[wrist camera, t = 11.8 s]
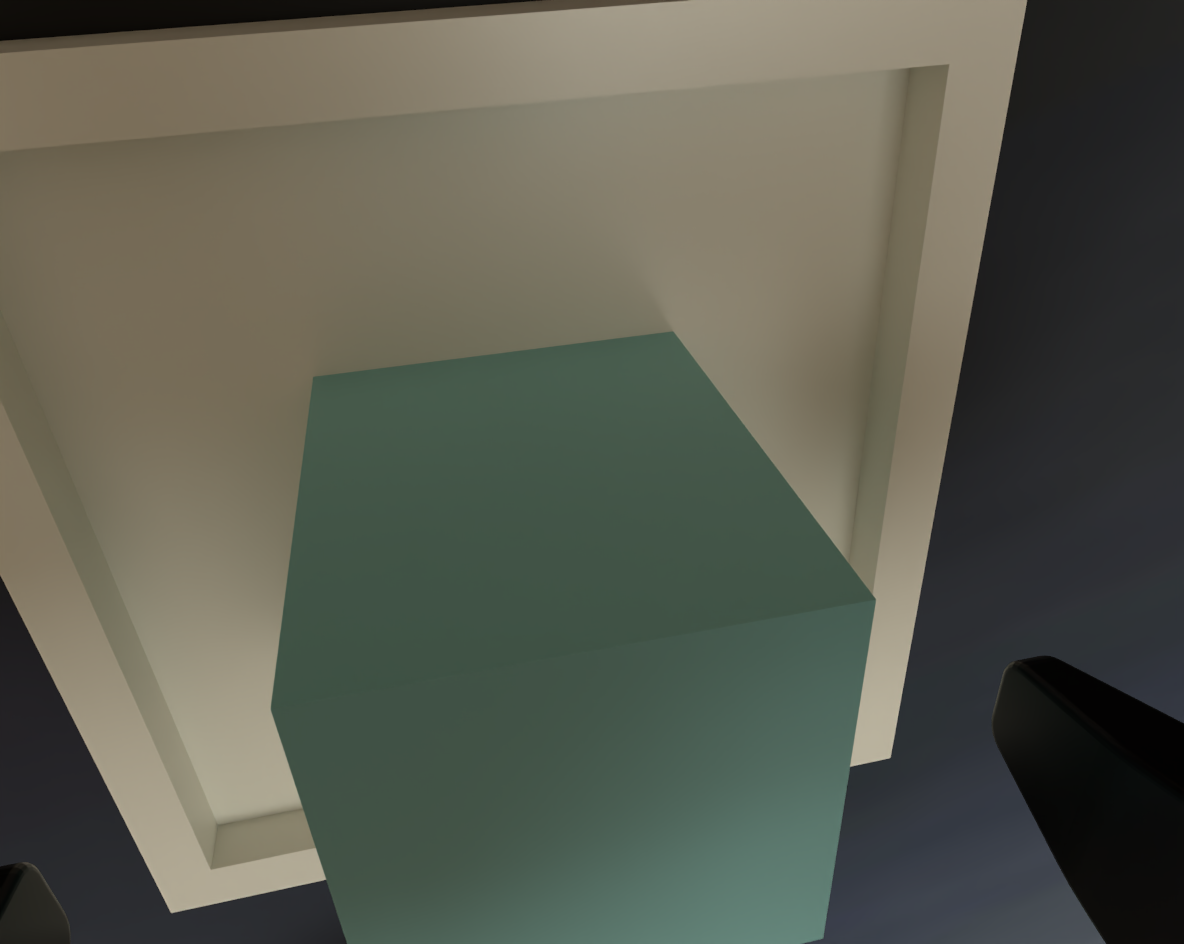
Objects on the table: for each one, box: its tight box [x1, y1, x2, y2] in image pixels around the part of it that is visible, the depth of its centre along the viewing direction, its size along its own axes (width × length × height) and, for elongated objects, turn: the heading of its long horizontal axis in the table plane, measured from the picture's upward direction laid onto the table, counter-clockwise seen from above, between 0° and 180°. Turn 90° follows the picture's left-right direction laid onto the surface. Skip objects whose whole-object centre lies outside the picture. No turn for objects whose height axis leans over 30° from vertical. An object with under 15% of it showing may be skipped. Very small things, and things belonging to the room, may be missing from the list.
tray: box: [0, 0, 1027, 913], centre depth 12 cm, size 12×12×1 cm
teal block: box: [270, 331, 876, 944], centre depth 10 cm, size 4×4×6 cm
